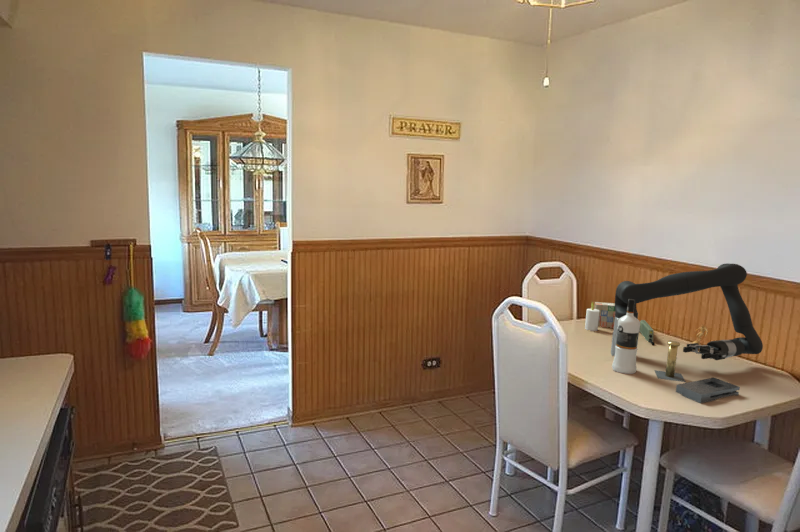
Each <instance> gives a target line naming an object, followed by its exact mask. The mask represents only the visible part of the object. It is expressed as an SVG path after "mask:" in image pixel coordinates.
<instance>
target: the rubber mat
mask: <svg viewBox="0 0 800 532" xmlns="http://www.w3.org/2000/svg"><path fill="white" fill-rule="evenodd" d="M654 373H655V375H656V378H657V379H660V380H667V381H673V382H674V381H675V382H681V383H687V382H686V380H685V378H684V376H683V375H682V373H679V372H675V374H674V377H667V376H665V373H666V370H665V371H664V370H656V369H654Z"/></svg>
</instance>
